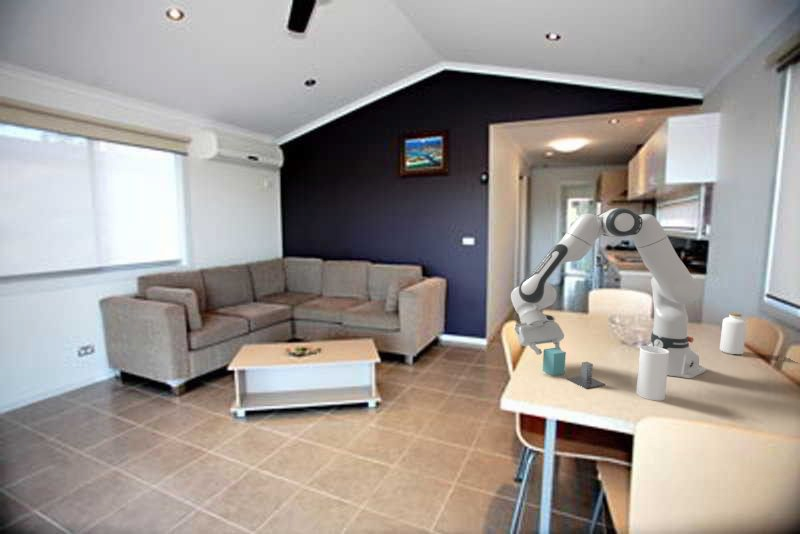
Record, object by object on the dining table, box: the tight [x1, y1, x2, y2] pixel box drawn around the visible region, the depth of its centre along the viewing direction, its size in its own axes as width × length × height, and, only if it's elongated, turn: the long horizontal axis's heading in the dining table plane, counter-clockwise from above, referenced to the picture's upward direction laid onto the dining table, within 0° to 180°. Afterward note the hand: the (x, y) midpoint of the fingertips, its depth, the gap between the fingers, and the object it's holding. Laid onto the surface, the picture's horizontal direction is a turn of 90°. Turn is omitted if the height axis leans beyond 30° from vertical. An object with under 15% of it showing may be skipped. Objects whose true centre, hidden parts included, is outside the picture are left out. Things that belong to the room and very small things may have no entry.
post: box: [566, 361, 606, 390], centre depth 148 cm, size 9×9×7 cm
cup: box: [636, 345, 669, 402], centre depth 137 cm, size 8×8×16 cm
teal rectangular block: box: [542, 347, 567, 377], centre depth 157 cm, size 6×6×9 cm
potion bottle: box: [719, 312, 748, 355], centre depth 182 cm, size 8×8×18 cm
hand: (549, 352), depth 159 cm, fingers open, 8 cm apart
